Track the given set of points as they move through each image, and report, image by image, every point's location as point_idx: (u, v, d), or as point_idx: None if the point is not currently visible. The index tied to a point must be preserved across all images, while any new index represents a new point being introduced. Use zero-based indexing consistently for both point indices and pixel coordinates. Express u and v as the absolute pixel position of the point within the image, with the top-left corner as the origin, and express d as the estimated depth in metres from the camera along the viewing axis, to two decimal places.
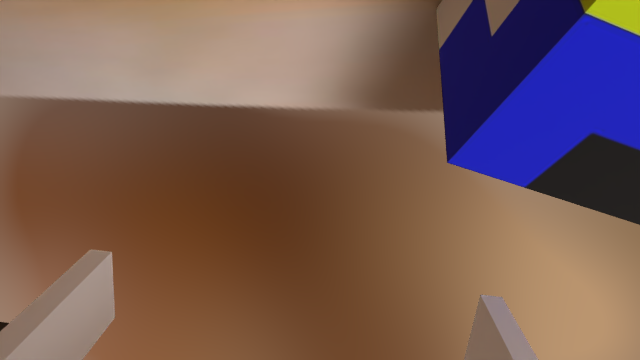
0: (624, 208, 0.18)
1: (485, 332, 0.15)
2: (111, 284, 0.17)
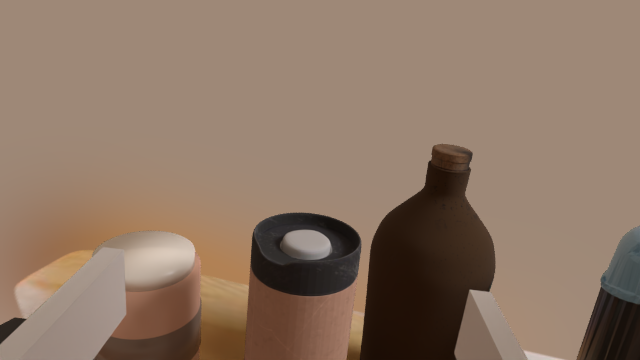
0: None
1: (473, 326, 0.15)
2: (124, 281, 0.17)
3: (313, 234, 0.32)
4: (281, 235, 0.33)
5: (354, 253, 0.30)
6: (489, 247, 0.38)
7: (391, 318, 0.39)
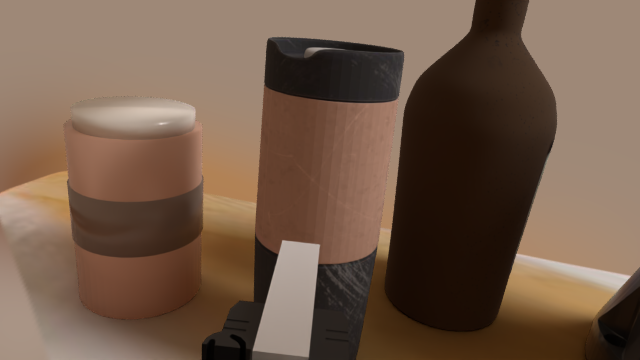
0: None
1: None
2: None
3: (343, 49, 0.26)
4: (302, 56, 0.27)
5: (397, 54, 0.23)
6: (551, 94, 0.31)
7: (431, 185, 0.32)
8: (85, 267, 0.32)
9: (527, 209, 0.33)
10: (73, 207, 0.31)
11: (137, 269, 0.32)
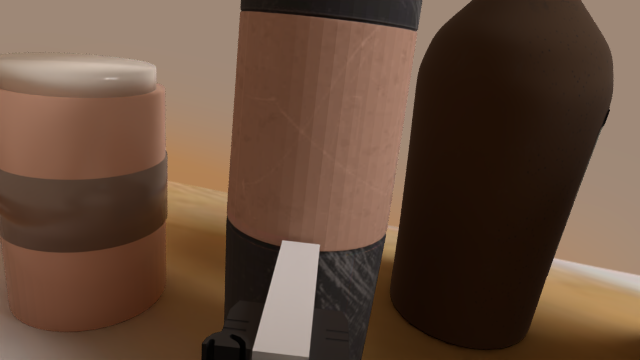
0: None
1: None
2: None
3: None
4: None
5: None
6: (609, 49, 0.24)
7: (454, 164, 0.25)
8: (10, 264, 0.25)
9: (573, 197, 0.26)
10: None
11: (75, 268, 0.25)
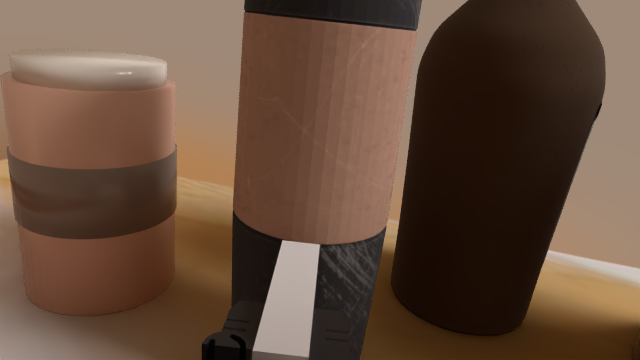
0: None
1: None
2: None
3: None
4: None
5: None
6: (601, 45, 0.25)
7: (452, 156, 0.26)
8: (27, 251, 0.26)
9: (567, 187, 0.27)
10: (12, 176, 0.25)
11: (90, 254, 0.26)
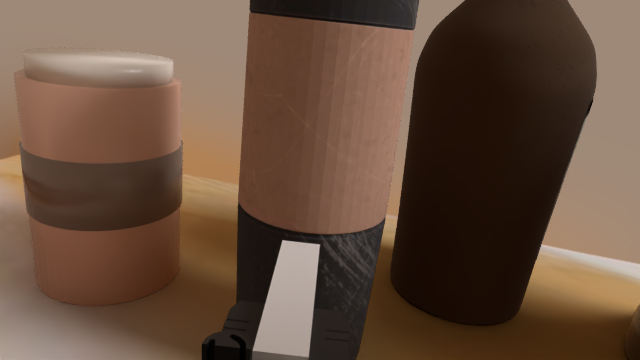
0: None
1: None
2: None
3: None
4: None
5: None
6: (592, 44, 0.26)
7: (448, 151, 0.27)
8: (39, 242, 0.27)
9: (560, 181, 0.28)
10: (25, 171, 0.26)
11: (100, 245, 0.27)
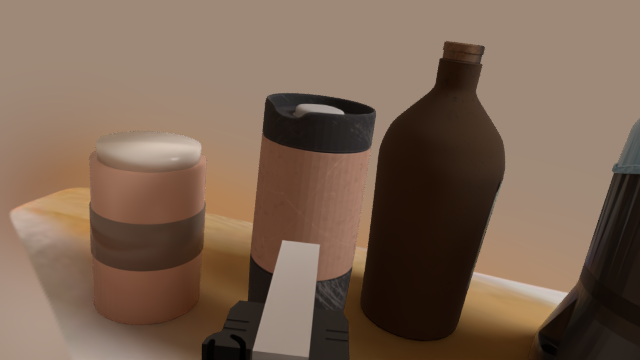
0: None
1: None
2: None
3: (327, 106, 0.32)
4: (293, 109, 0.33)
5: (370, 115, 0.30)
6: (500, 142, 0.37)
7: (399, 215, 0.38)
8: (101, 278, 0.38)
9: (480, 237, 0.39)
10: (94, 227, 0.37)
11: (147, 281, 0.37)
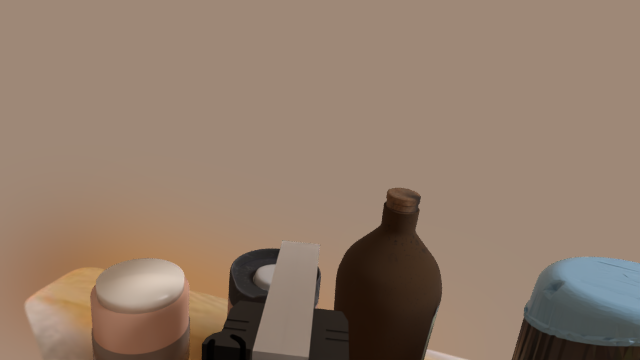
0: None
1: None
2: None
3: None
4: (255, 269, 0.40)
5: None
6: (434, 277, 0.44)
7: (351, 337, 0.45)
8: None
9: (421, 352, 0.46)
10: (96, 353, 0.44)
11: None
